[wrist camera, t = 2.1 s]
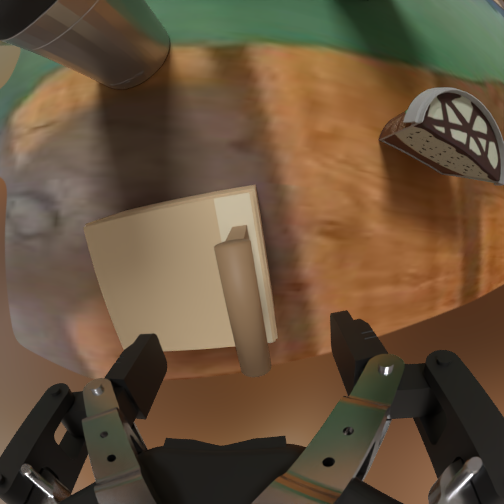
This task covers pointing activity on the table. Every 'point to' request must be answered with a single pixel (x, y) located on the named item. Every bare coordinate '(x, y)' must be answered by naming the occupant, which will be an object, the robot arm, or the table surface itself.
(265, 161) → the table surface
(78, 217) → the table surface
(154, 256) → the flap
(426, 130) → the food container
